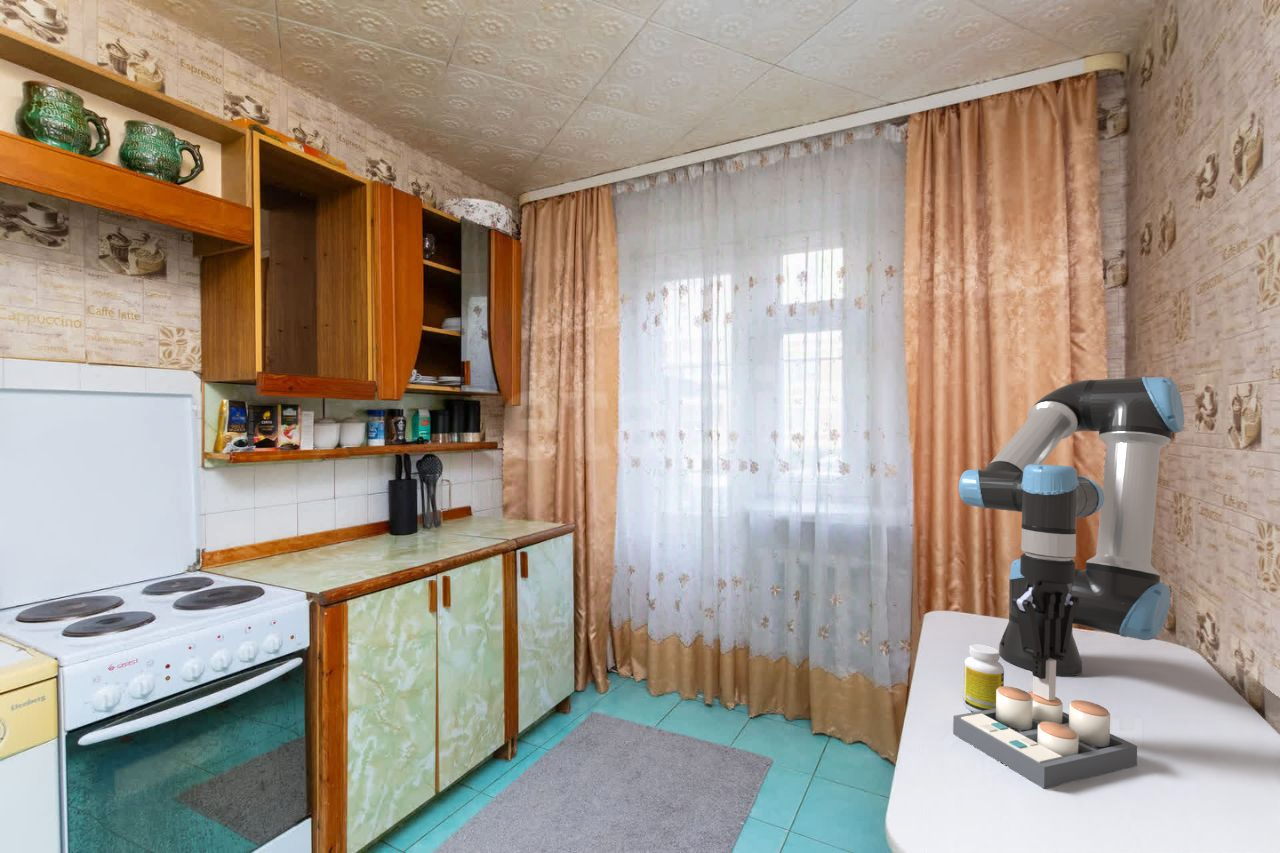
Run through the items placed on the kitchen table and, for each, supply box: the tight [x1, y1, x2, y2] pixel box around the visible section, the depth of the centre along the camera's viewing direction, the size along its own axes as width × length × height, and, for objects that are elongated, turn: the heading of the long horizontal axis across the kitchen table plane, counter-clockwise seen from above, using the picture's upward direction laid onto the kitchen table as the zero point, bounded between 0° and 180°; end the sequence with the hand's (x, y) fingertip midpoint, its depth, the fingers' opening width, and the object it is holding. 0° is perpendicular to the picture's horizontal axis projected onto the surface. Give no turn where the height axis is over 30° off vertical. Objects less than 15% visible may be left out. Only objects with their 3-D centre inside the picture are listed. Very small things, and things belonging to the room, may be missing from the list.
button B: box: [1068, 699, 1111, 747], centre depth 88 cm, size 5×5×5 cm
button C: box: [996, 685, 1033, 730], centre depth 92 cm, size 5×5×5 cm
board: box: [952, 708, 1138, 790], centre depth 90 cm, size 20×15×3 cm
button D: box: [1037, 722, 1079, 757], centre depth 86 cm, size 5×5×5 cm
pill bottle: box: [963, 643, 1005, 713], centre depth 102 cm, size 6×6×11 cm
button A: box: [1027, 690, 1064, 724], centre depth 95 cm, size 5×5×5 cm
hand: (1043, 696), depth 95 cm, fingers closed
